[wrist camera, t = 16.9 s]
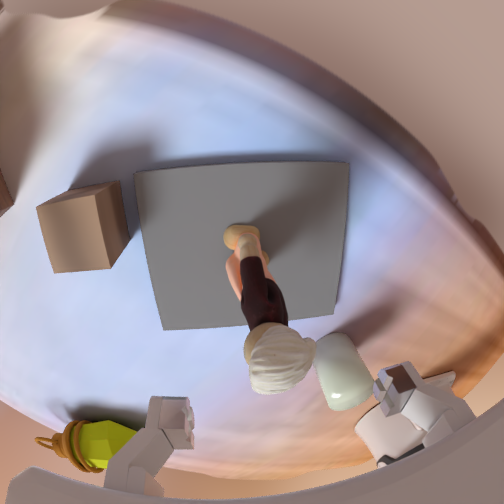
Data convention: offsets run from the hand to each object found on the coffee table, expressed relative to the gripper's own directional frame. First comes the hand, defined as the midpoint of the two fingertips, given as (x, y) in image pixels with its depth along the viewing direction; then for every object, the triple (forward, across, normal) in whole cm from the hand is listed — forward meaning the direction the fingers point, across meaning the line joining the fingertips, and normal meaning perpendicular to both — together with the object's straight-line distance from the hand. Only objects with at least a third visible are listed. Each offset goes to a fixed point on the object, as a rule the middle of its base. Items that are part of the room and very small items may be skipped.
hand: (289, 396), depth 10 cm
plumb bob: (+14, -25, -28) cm, 40 cm away
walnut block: (+14, -12, +5) cm, 19 cm away
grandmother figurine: (+13, 0, 0) cm, 13 cm away
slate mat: (+14, 0, +1) cm, 14 cm away
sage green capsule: (+14, +9, -12) cm, 21 cm away
